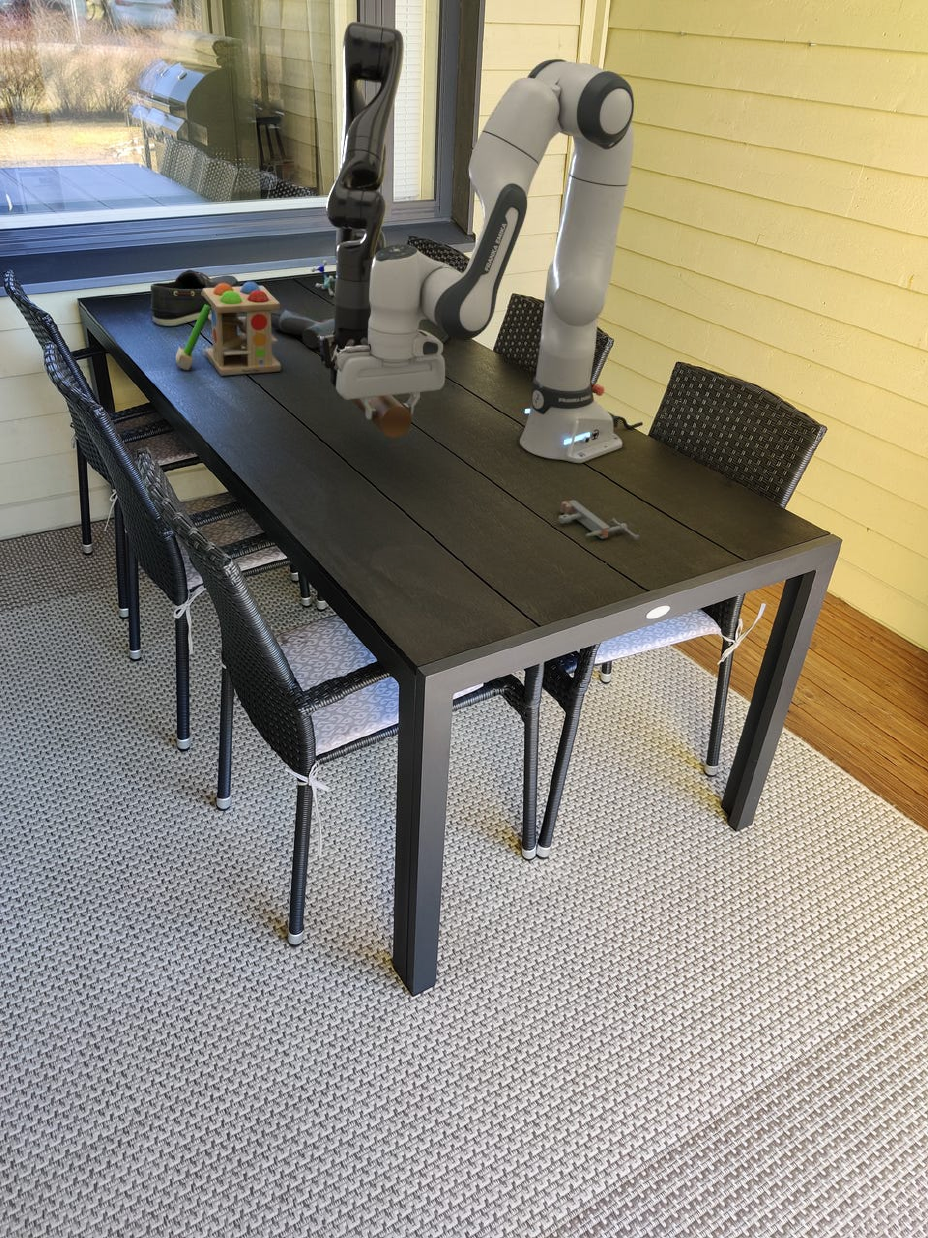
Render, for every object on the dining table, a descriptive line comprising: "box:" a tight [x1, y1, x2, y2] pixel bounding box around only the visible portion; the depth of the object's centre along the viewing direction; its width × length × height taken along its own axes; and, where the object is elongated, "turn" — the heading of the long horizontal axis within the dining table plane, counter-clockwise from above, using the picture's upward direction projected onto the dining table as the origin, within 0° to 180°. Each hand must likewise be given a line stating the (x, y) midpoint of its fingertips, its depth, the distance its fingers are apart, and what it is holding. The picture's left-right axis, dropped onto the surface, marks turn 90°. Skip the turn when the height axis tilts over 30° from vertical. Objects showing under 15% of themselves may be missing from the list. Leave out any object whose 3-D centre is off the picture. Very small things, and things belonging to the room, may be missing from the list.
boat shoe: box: [149, 269, 241, 327], centre depth 259 cm, size 13×33×10 cm, turn 147°
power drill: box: [271, 308, 335, 349], centre depth 252 cm, size 5×19×20 cm
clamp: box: [558, 499, 640, 541], centre depth 178 cm, size 15×2×10 cm
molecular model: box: [310, 260, 336, 297], centre depth 283 cm, size 12×10×10 cm
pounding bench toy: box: [174, 281, 282, 377], centre depth 225 cm, size 23×14×18 cm, turn 116°
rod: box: [350, 395, 412, 439], centre depth 188 cm, size 25×6×6 cm, turn 27°
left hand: (352, 385), depth 195 cm, fingers closed on rod, 6 cm apart
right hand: (389, 415), depth 181 cm, fingers closed on rod, 6 cm apart
